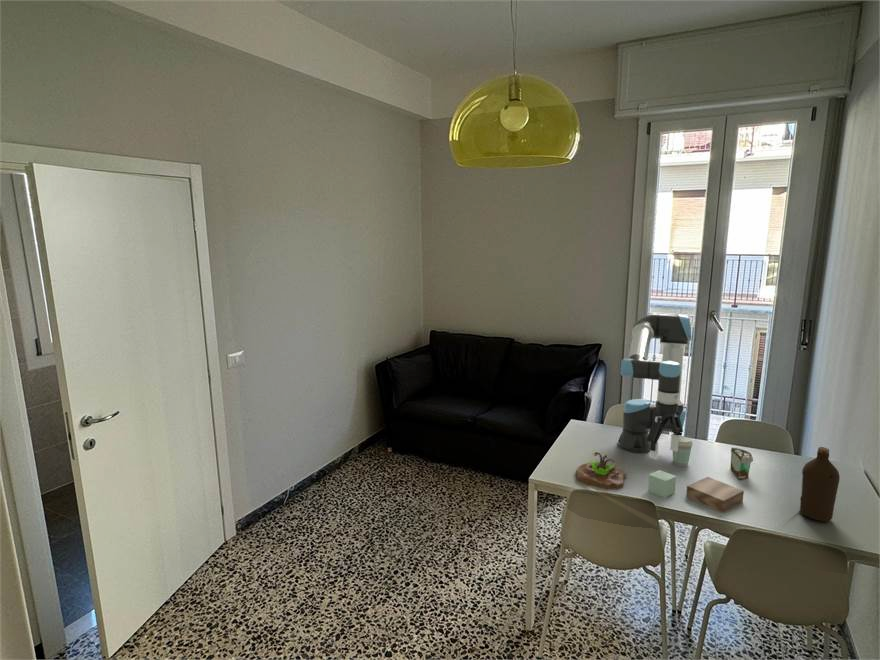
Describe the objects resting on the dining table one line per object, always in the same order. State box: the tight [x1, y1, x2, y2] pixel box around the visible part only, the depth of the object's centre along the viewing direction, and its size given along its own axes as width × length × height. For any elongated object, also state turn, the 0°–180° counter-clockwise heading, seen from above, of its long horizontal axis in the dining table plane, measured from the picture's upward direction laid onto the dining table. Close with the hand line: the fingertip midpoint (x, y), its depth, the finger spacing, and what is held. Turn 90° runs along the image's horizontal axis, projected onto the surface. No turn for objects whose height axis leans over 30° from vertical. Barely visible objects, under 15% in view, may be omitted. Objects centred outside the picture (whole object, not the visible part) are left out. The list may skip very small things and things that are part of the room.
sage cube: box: [647, 469, 677, 499], centre depth 198 cm, size 7×7×7 cm
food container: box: [730, 447, 754, 481], centre depth 211 cm, size 12×6×10 cm, turn 168°
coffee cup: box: [672, 435, 694, 467], centre depth 222 cm, size 8×8×12 cm
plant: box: [575, 452, 627, 490], centre depth 211 cm, size 20×20×11 cm
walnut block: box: [686, 476, 745, 513], centre depth 192 cm, size 14×14×5 cm
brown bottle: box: [799, 446, 840, 522], centre depth 179 cm, size 11×11×25 cm
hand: (664, 454), depth 196 cm, fingers open, 13 cm apart
